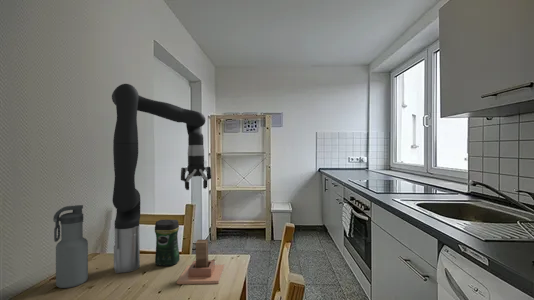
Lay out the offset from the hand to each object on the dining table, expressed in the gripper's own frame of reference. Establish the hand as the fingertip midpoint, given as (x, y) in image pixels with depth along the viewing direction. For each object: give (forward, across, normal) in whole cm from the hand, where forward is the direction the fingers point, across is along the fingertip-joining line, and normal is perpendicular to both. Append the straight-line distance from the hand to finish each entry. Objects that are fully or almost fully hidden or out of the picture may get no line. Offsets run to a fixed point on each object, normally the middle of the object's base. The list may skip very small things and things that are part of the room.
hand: (196, 189), depth 136 cm
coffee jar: (+30, -15, -4) cm, 34 cm away
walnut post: (+29, -8, -25) cm, 39 cm away
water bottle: (+30, -49, -2) cm, 58 cm away
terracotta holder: (+30, -8, -25) cm, 40 cm away
